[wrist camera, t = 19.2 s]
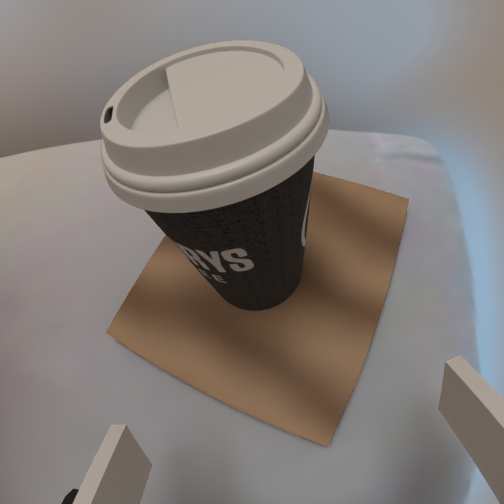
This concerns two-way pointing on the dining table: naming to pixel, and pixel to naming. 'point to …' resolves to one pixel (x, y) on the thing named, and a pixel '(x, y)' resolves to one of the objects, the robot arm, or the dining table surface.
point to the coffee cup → (222, 161)
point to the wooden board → (277, 316)
